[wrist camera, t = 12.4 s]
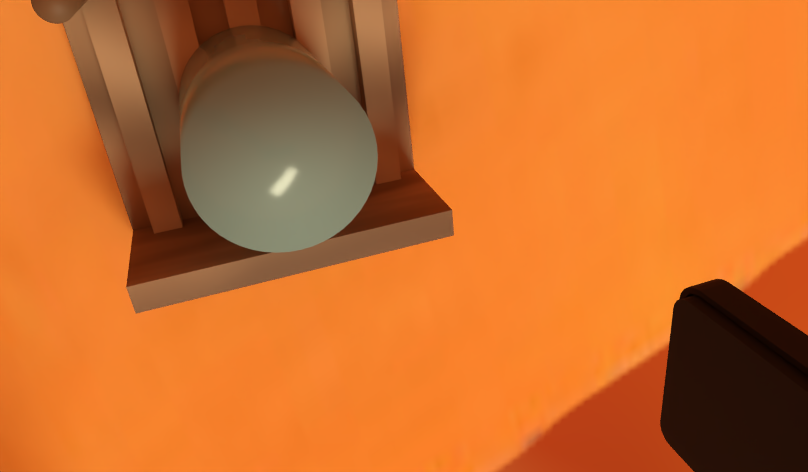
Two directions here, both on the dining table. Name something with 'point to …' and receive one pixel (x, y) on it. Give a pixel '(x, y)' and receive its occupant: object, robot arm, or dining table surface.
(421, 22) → the dining table surface
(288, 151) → the grey green cylinder
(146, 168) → the rack
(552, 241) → the dining table surface
